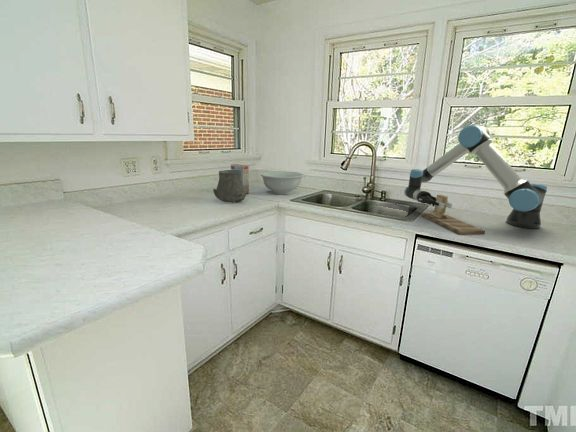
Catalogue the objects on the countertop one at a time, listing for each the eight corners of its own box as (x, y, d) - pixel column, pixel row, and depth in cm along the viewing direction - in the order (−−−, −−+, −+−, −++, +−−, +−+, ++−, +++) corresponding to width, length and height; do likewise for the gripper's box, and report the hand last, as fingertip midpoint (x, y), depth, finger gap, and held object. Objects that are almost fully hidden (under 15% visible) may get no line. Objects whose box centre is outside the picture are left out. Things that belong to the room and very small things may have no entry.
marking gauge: (437, 213, 172) (441, 193, 169) (450, 219, 162) (454, 198, 158) (429, 213, 171) (433, 193, 168) (442, 219, 161) (446, 198, 158)
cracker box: (249, 193, 216) (249, 165, 210) (242, 194, 212) (242, 166, 206) (237, 190, 225) (236, 163, 219) (230, 191, 221) (230, 164, 215)
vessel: (225, 207, 178) (224, 174, 172) (209, 200, 193) (207, 170, 188) (254, 202, 191) (254, 172, 186) (237, 196, 207) (236, 168, 202)
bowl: (260, 188, 238) (260, 170, 234) (299, 188, 242) (300, 171, 237) (261, 197, 207) (261, 176, 203) (305, 197, 211) (306, 177, 207)
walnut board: (420, 215, 173) (421, 213, 172) (442, 215, 175) (442, 212, 174) (459, 234, 142) (460, 231, 142) (484, 233, 145) (485, 230, 144)
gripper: (433, 202, 185) (459, 212, 163) (408, 202, 182) (432, 212, 160) (435, 190, 183) (462, 199, 161) (410, 190, 180) (434, 199, 158)
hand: (447, 205), depth 160 cm, fingers closed on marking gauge, 4 cm apart
